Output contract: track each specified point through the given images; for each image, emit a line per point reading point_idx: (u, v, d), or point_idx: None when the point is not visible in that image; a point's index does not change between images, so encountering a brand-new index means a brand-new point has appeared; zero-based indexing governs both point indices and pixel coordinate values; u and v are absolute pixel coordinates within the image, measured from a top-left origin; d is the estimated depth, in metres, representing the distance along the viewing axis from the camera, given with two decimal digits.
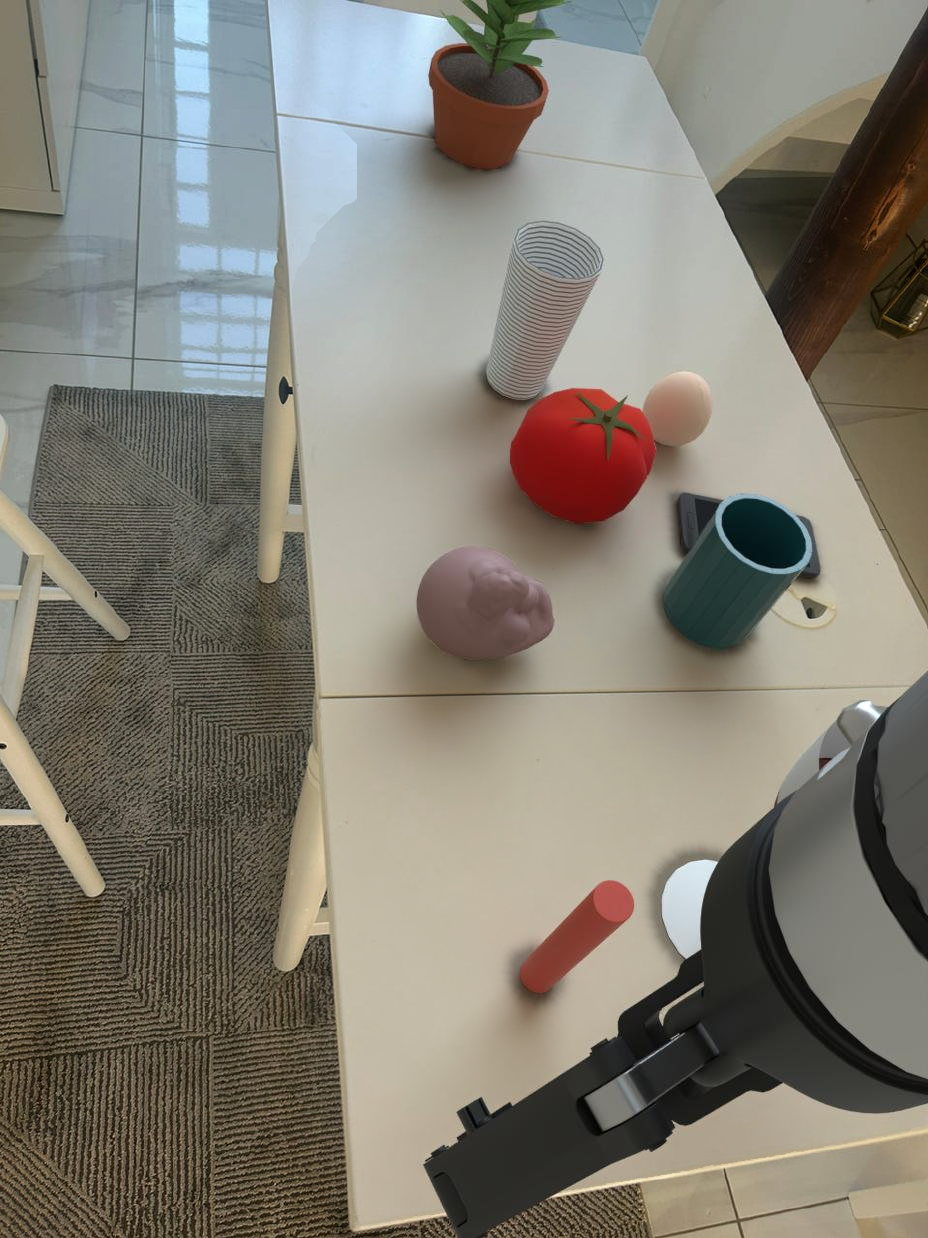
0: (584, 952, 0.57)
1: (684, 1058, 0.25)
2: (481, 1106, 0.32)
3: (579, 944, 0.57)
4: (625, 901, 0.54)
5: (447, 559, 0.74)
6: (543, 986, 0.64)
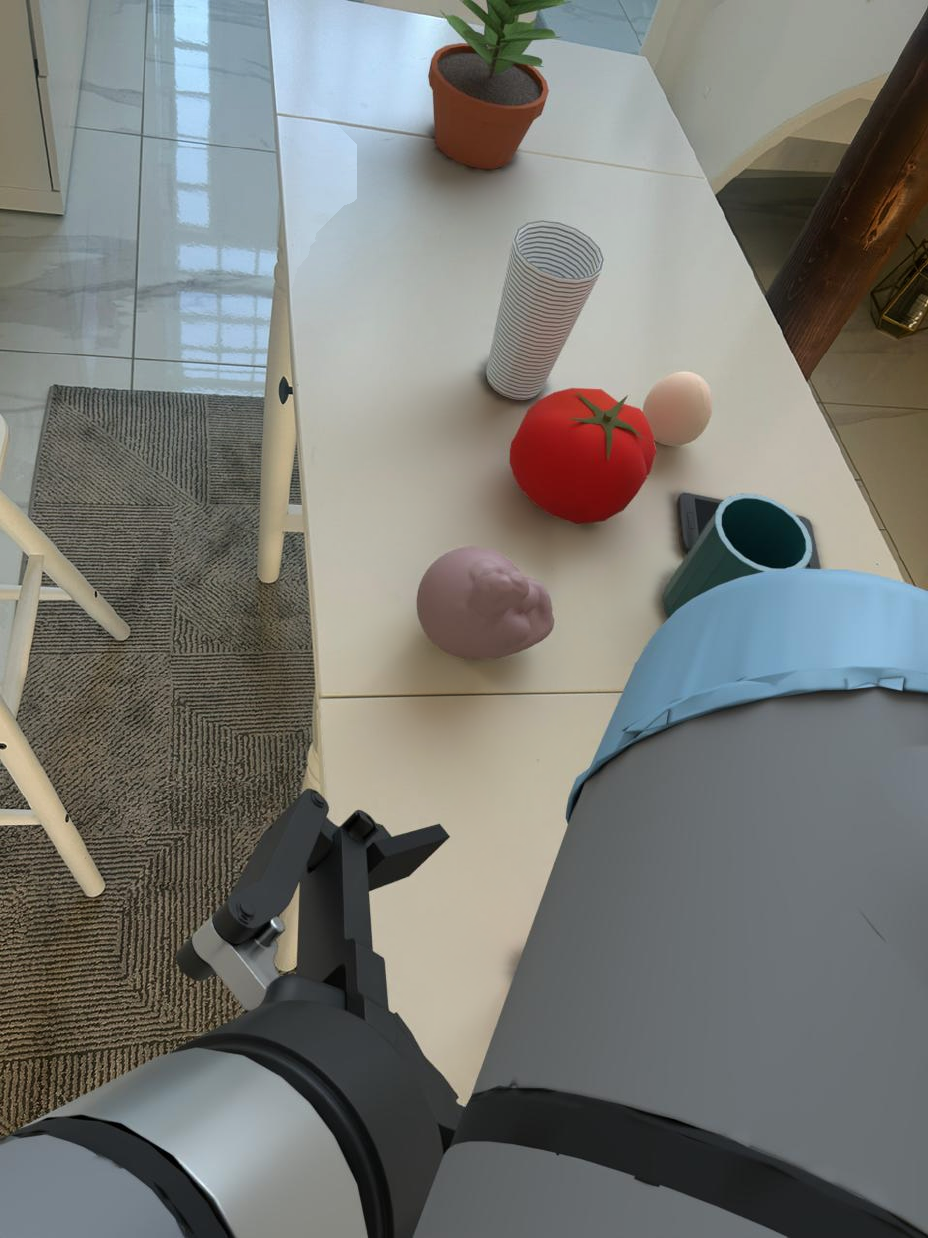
0: None
1: None
2: None
3: None
4: None
5: (447, 559, 0.74)
6: None
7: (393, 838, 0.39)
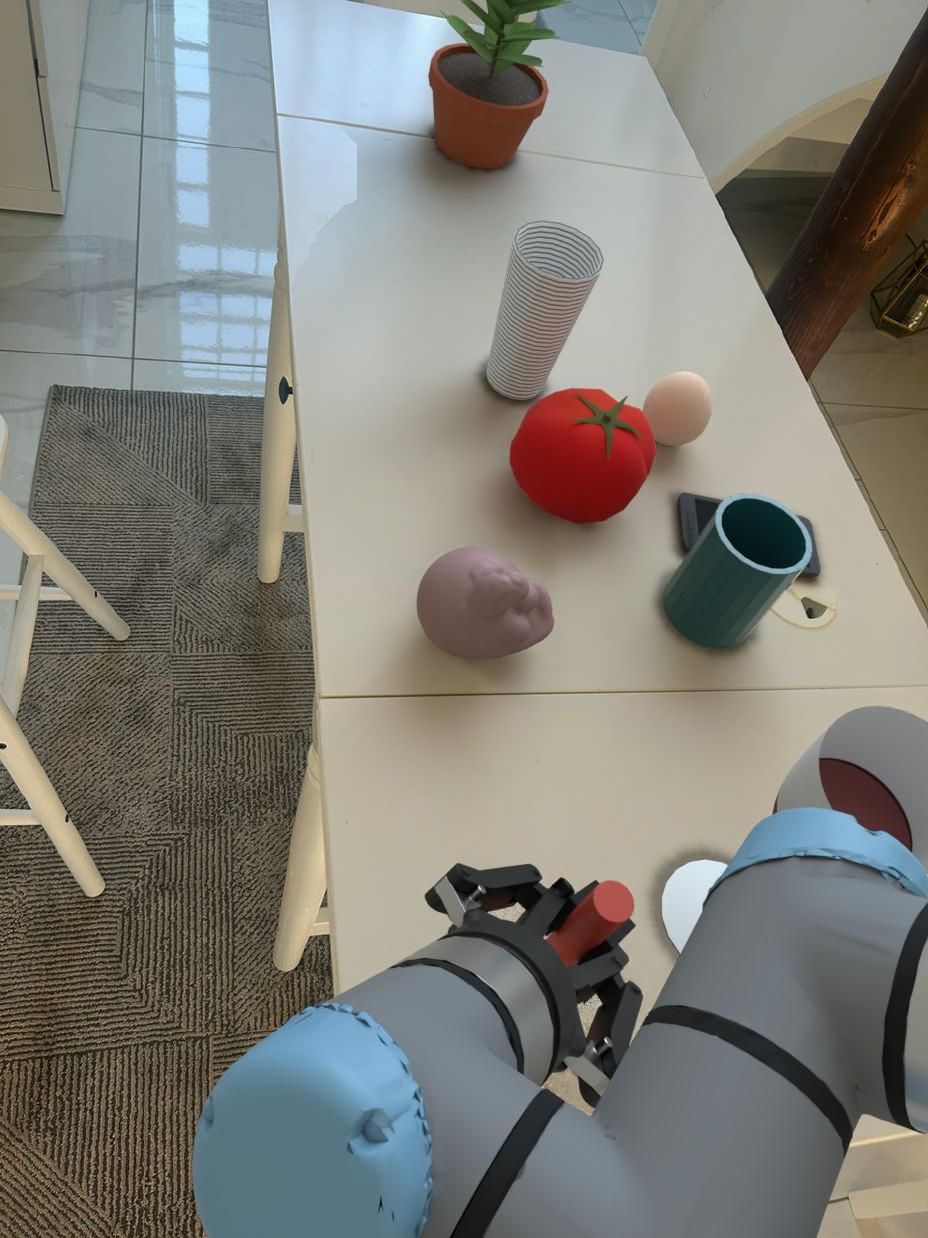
0: (584, 952, 0.57)
1: (581, 1066, 0.46)
2: None
3: (579, 944, 0.57)
4: (625, 901, 0.54)
5: (447, 559, 0.74)
6: None
7: (577, 893, 0.59)
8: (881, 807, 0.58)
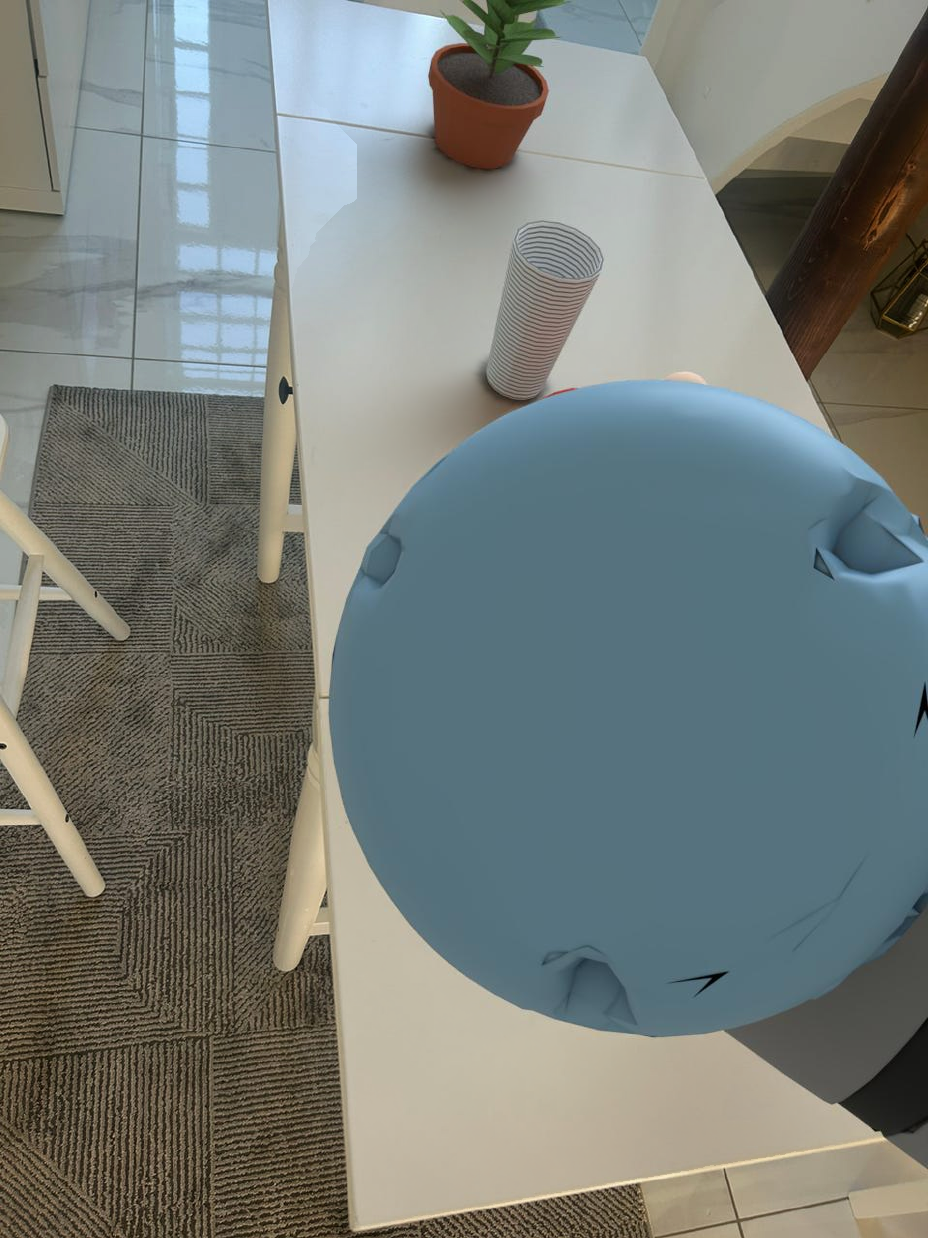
0: None
1: None
2: None
3: None
4: None
5: None
6: None
7: None
8: None
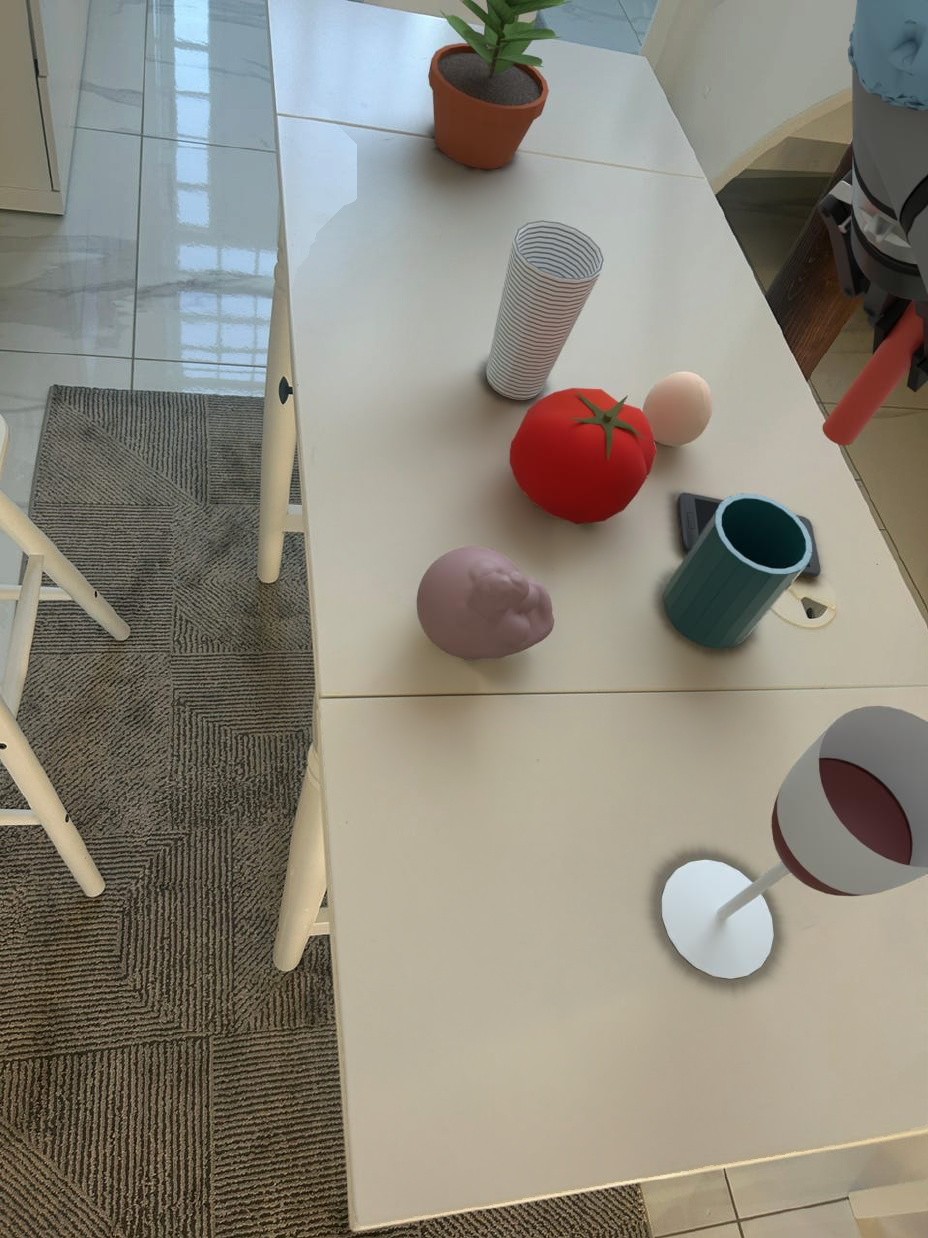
0: (923, 339, 0.60)
1: None
2: (919, 363, 0.60)
3: None
4: None
5: (447, 559, 0.74)
6: (852, 428, 0.66)
7: None
8: (881, 807, 0.58)
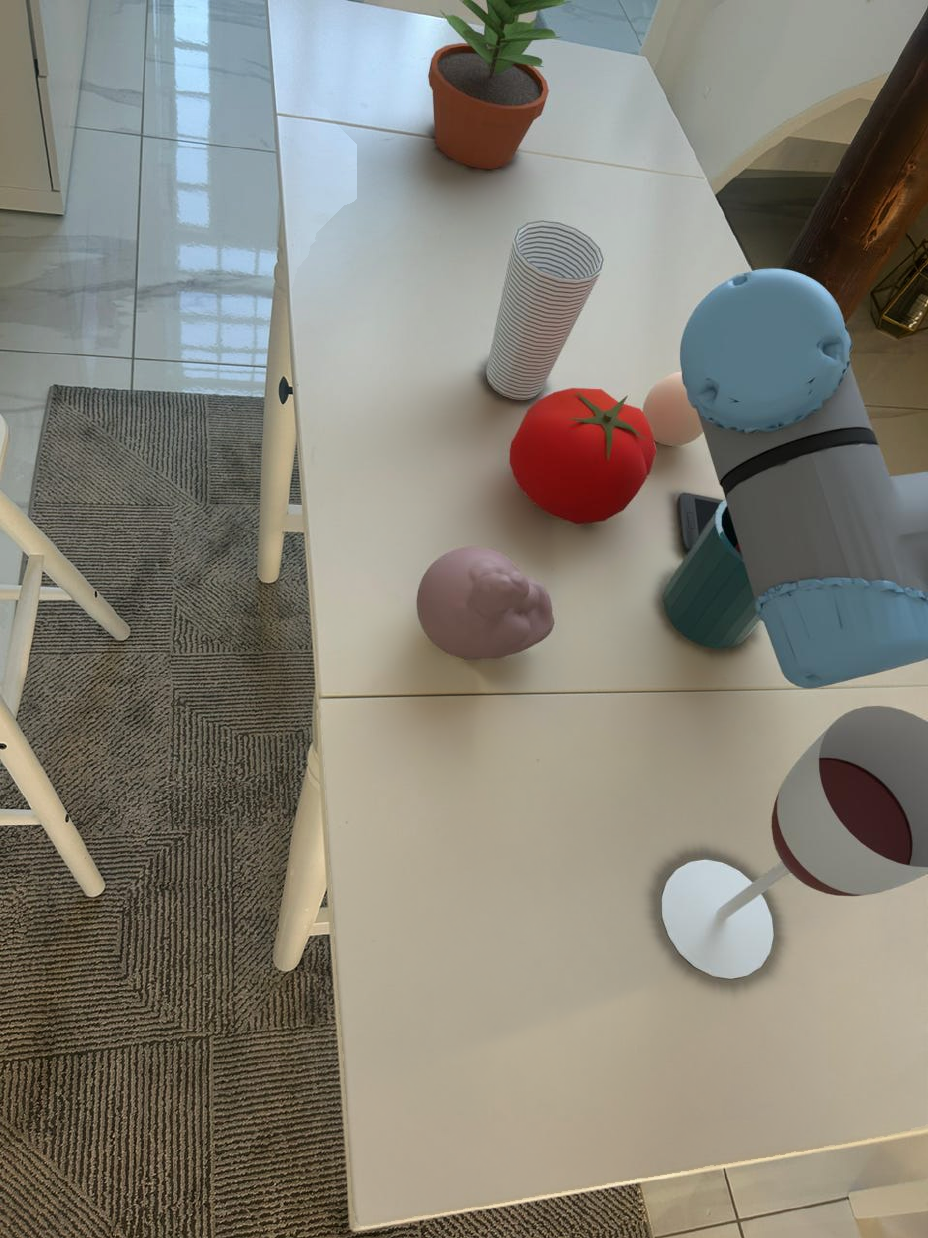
0: None
1: None
2: None
3: None
4: None
5: (447, 559, 0.74)
6: None
7: None
8: (881, 807, 0.58)
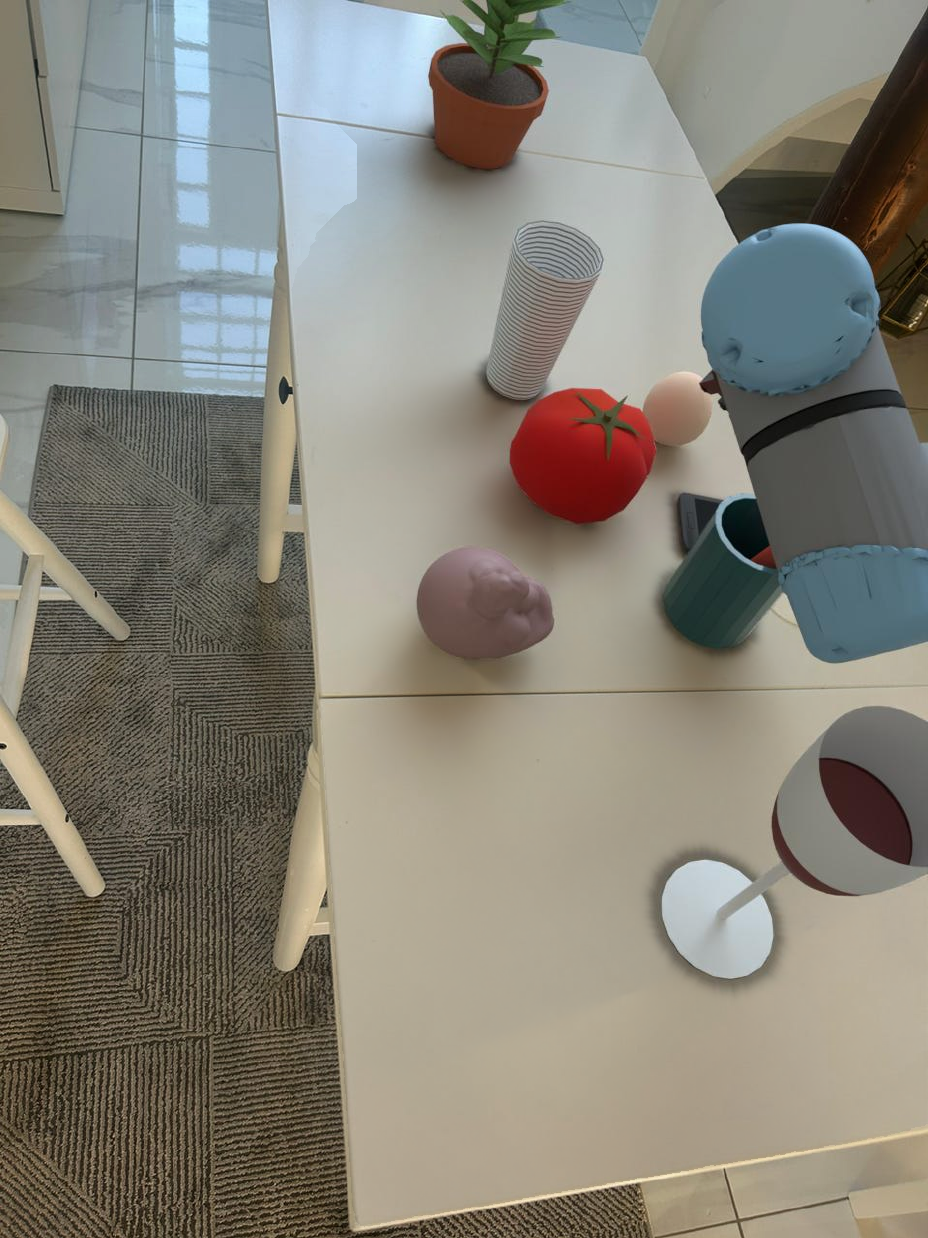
0: None
1: None
2: None
3: None
4: None
5: (447, 559, 0.74)
6: None
7: None
8: (881, 807, 0.58)
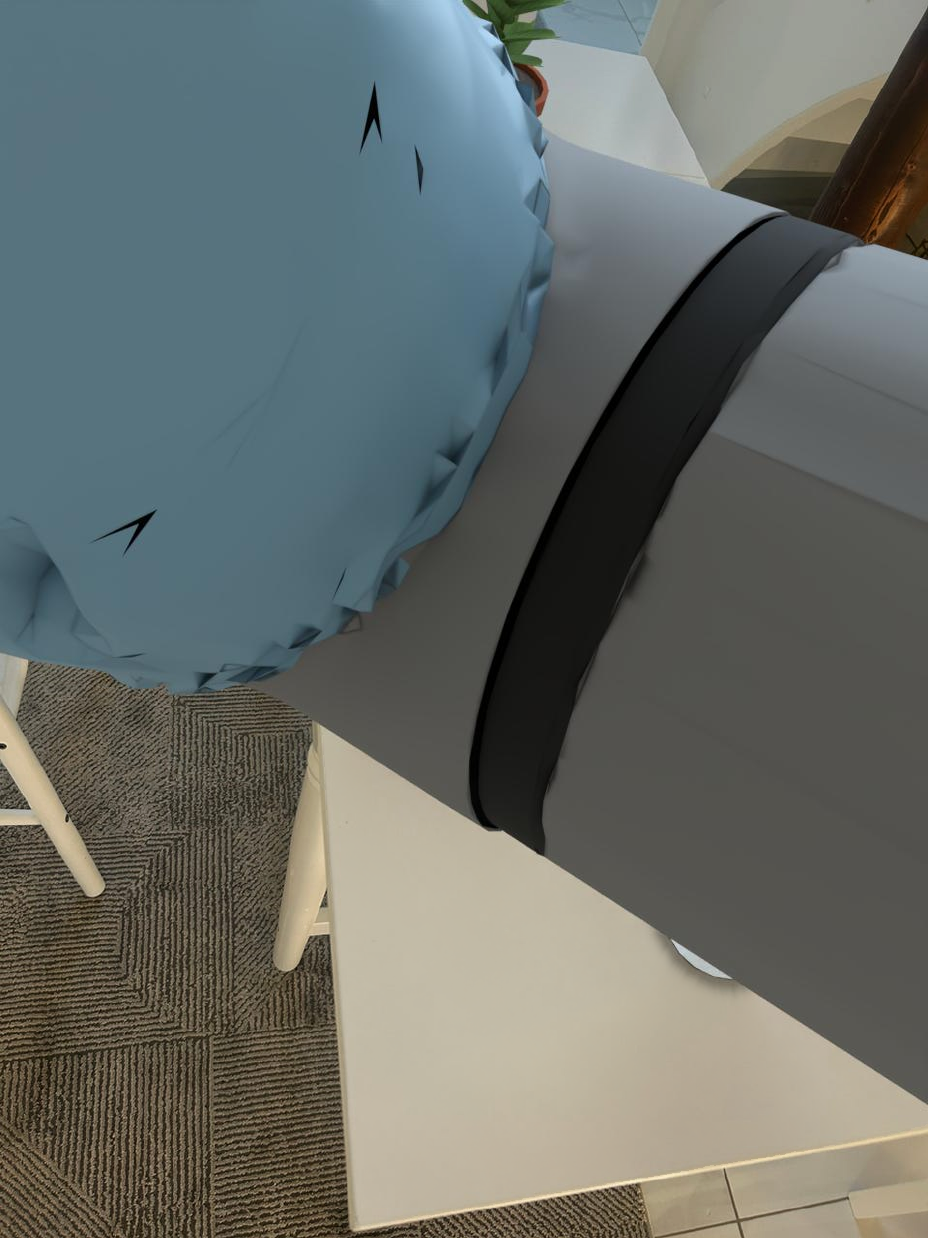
0: None
1: None
2: None
3: None
4: None
5: None
6: None
7: None
8: None
